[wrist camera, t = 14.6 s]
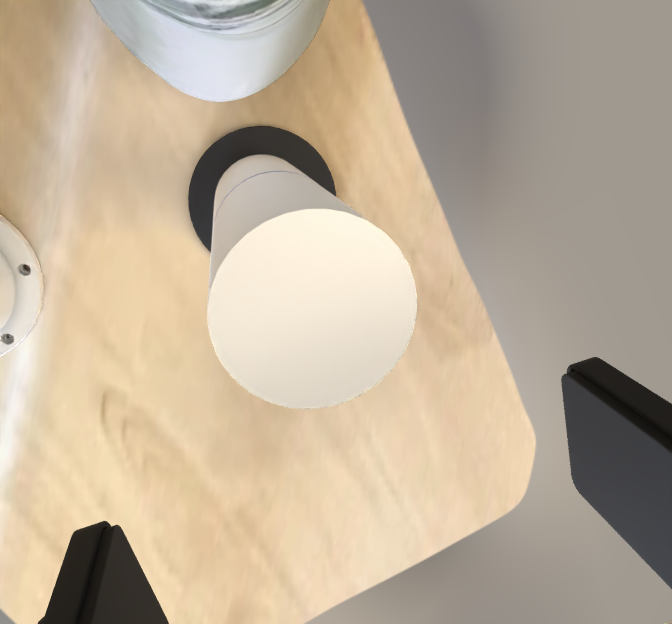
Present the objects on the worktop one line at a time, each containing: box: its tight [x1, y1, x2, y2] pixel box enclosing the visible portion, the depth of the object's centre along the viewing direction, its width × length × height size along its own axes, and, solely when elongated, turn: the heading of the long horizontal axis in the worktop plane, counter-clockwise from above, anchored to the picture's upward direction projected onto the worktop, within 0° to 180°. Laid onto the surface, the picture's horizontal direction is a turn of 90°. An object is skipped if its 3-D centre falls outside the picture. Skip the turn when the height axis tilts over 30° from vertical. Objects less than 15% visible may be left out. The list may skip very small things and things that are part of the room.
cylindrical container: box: [207, 155, 417, 409], centre depth 31 cm, size 7×7×25 cm
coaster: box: [188, 126, 336, 252], centre depth 42 cm, size 11×11×1 cm
